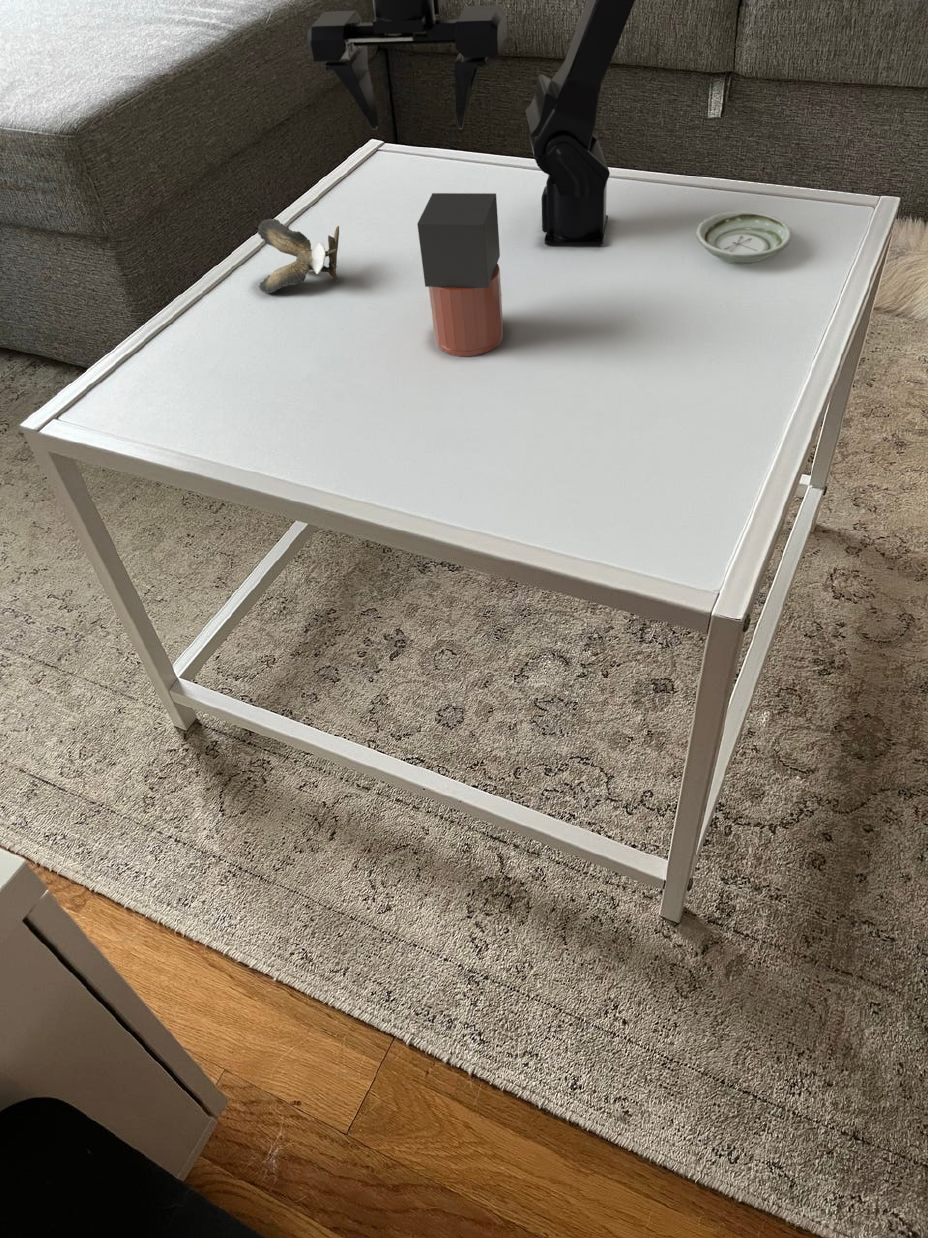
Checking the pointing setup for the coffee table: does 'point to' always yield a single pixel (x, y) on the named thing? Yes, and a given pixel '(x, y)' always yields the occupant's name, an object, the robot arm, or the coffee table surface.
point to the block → (459, 240)
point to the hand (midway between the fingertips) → (418, 127)
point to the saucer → (743, 236)
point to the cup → (468, 318)
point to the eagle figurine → (301, 249)
